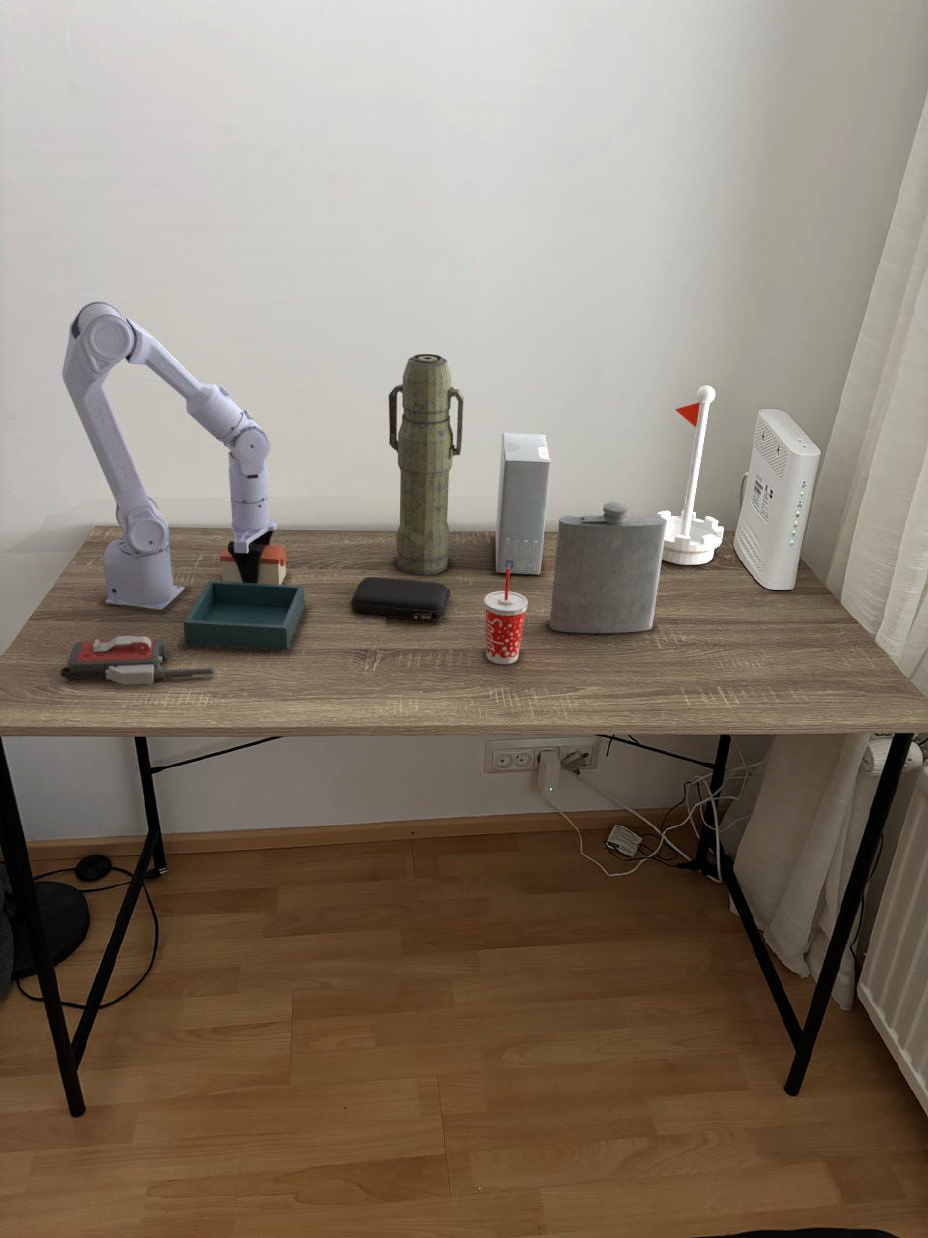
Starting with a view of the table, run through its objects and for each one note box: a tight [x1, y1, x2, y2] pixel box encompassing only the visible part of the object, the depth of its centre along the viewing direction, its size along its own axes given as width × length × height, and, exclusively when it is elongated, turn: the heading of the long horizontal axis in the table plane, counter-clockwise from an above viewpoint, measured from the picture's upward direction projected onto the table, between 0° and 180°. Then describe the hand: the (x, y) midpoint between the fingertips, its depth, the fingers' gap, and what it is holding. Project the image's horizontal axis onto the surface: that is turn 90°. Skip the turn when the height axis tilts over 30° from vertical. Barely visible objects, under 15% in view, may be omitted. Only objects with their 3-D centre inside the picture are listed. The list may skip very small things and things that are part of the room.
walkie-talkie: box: [60, 635, 215, 685], centre depth 139 cm, size 9×4×20 cm
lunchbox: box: [220, 542, 288, 585], centre depth 164 cm, size 10×5×6 cm, turn 87°
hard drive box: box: [495, 432, 552, 576], centre depth 174 cm, size 16×8×20 cm, turn 179°
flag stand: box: [656, 385, 724, 566], centre depth 176 cm, size 13×13×30 cm
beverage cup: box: [483, 567, 529, 665], centre depth 144 cm, size 6×6×14 cm
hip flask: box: [549, 501, 667, 634], centre depth 152 cm, size 16×4×20 cm, turn 95°
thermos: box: [388, 353, 465, 576], centre depth 166 cm, size 9×12×35 cm
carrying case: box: [350, 576, 452, 621], centre depth 158 cm, size 11×3×15 cm
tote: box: [183, 580, 306, 651], centre depth 151 cm, size 15×14×4 cm
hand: (254, 576), depth 165 cm, fingers closed on lunchbox, 5 cm apart
